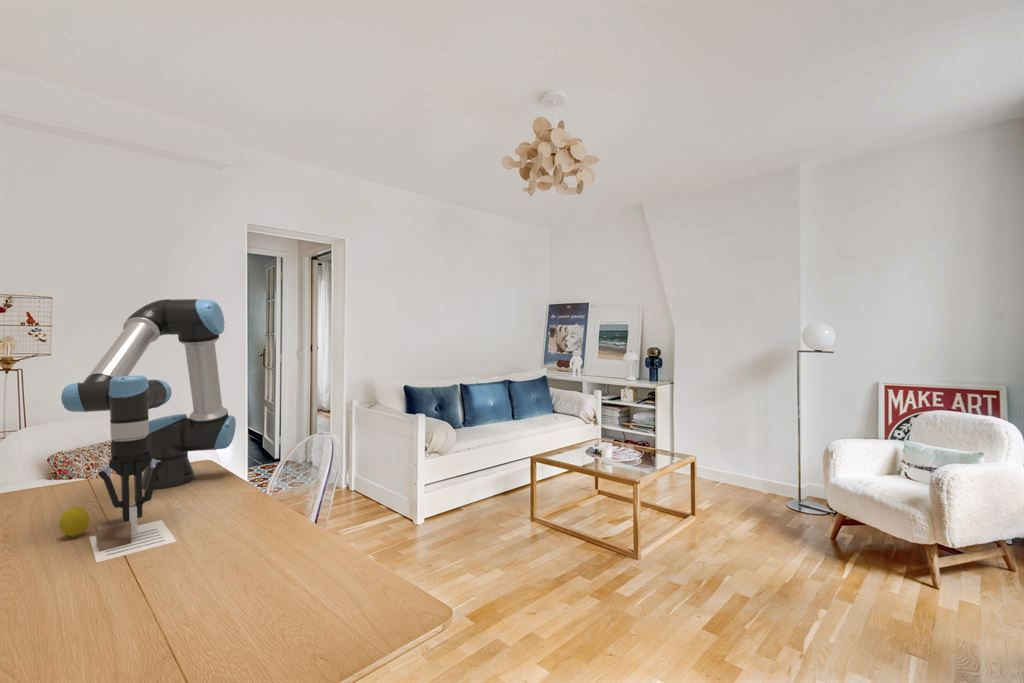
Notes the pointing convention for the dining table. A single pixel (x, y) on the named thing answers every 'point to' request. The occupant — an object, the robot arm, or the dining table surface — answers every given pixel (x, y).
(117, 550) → the letter
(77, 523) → the lemon
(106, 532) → the walnut block
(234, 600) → the dining table surface
